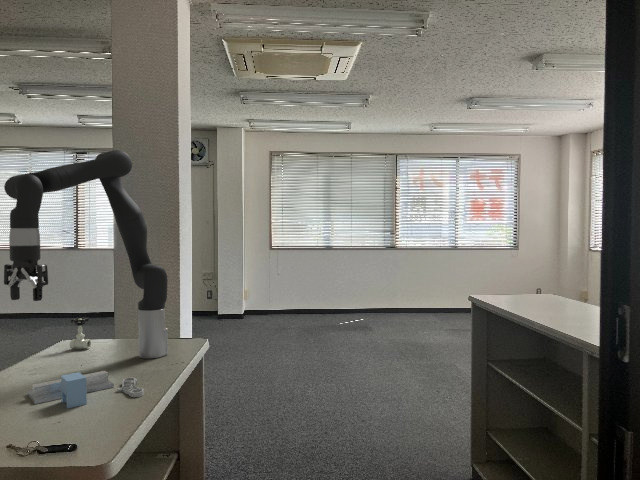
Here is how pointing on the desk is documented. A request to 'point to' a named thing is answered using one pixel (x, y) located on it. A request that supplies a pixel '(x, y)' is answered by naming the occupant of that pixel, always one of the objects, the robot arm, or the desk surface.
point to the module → (73, 390)
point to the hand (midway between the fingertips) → (26, 300)
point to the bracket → (131, 388)
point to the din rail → (58, 394)
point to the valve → (80, 335)
